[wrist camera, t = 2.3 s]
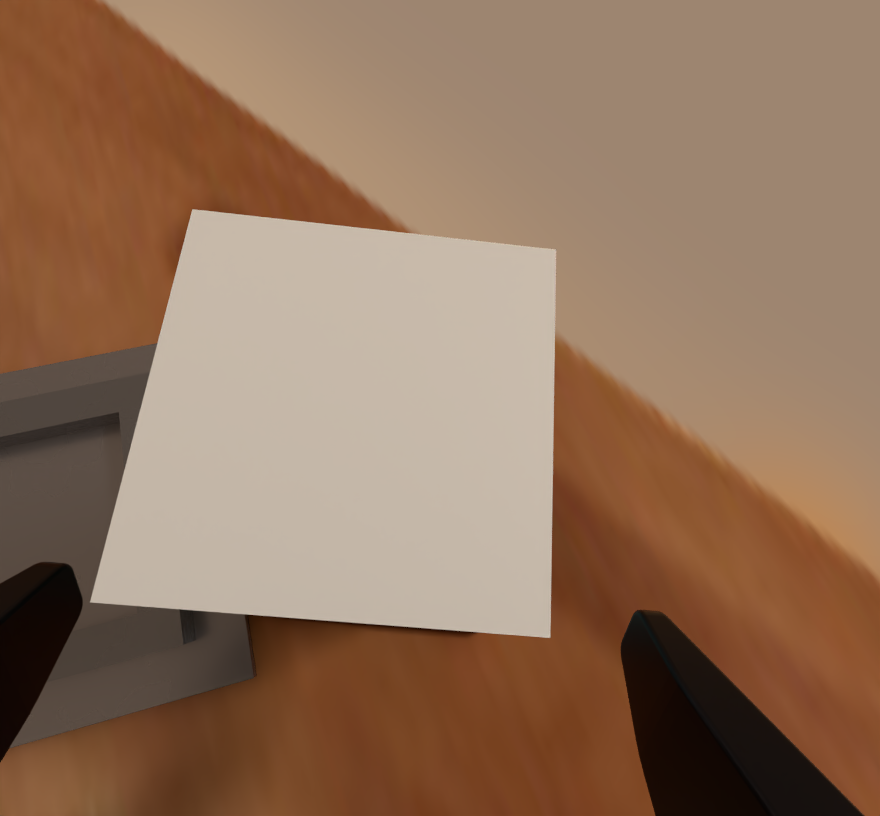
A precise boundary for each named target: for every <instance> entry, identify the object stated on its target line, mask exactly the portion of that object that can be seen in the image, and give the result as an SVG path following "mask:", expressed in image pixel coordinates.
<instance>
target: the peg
mask: <svg viewBox="0 0 880 816" xmlns="http://www.w3.org/2000/svg"><path fill="white" fill-rule="evenodd" d="M555 283H556V250H555V249H546V248H537V247H527V246H518V245H509V244H501V243H492V242H482V241H473V240H465V239H455V238H447V237H437V236H429V235H419V234H410V233H401V232H392V231H383V230H374V229H365V228H356V227H347V226H338V225H329V224H320V223H311V222H302V221H293V220H284V219H275V218H266V217H257V216H248V215H239V214H230V213H221V212H212V211H203V210H194V209H192V213H191V217H190V221H189V225H188V228H187V232H186V236H185V240H184V244H183V248H182V251H181V255H180V259H179V263H178V267H177V271H176V275H175V278H174V282H173V286H172V290H171V294H170V298H169V301H168V305H167V309H166V313H165V317H164V321H163V324H162V328H161V332H160V336H159V340H158V344H157V347H156V351H155V355H154V359H153V363H152V367H151V370H150V374H149V378H148V382H147V386H146V390H145V393H144V397H143V401H142V405H141V409H140V413H139V416H138V420H137V424H136V428H135V432H134V436H133V439H132V443H131V447H130V451H129V455H128V459H127V462H126V466H125V470H124V474H123V478H122V482H121V485H120V489H119V493H118V497H117V501H116V505H115V508H114V512H113V516H112V520H111V524H110V528H109V531H108V535H107V539H106V543H105V547H104V551H103V554H102V558H101V562H100V566H99V570H98V574H97V577H96V581H95V585H94V589H93V593H92V597H91V600H90V602H91V603H104V604H117V605H130V606H143V607H156V608H169V609H182V610H195V611H208V612H221V613H234V614H247V615H260V616H273V617H286V618H299V619H312V620H325V621H338V622H351V623H364V624H377V625H390V626H403V627H416V628H429V629H442V630H455V631H468V632H481V633H494V634H507V635H520V636H533V637H546V638H550V623H551V556H552V489H553V422H554V355H555V286H556V284H555Z"/></svg>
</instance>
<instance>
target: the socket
mask: <svg viewBox="0 0 880 816" xmlns="http://www.w3.org/2000/svg"><path fill="white" fill-rule="evenodd" d="M157 344H158V343H157ZM157 344H152V345H146V346H141V347H136V348H131V349H126V350H121V351H116V352H111V353H105V354H100V355H95V356H90V357H85V358H80V359H75V360H70V361H64V362H59V363H54V364H49V365H44V366H39V367H34V368H29V369H23V370H18V371H13V372H8V373H3V374H0V583H2V582H3V581H5V580H7V579H9V578H11V577H12V576H14V575H16V574H18V573H20V572H21V571H23V570H25V569H27V568H29V567H30V566H32V565H34V564H36V563H39V562H57V563H66V564H69V565H70V566H71V567H72V568H73V571H74V574H75V577H76V580H77V583H78V586H79V589H80V592H81V595H82V598H83V606H82V611H81V614H80V616H79V618H78V620H77V622H76V624H75V626H74V628H73V630H72V632H71V634H70V636H69V638H68V640H67V642H66V644H65V646H64V648H63V650H62V652H61V654H60V656H59V658H58V660H57V662H56V664H55V666H54V668H53V670H52V672H51V674H50V676H49V678H48V680H47V682H46V684H45V686H44V688H43V690H42V692H41V694H40V696H39V698H38V700H37V702H36V704H35V705H34V707H33V709H32V711H31V713H30V715H29V716H28V718H27V720H26V721H25V723H24V725H23V726H22V728H21V730H20V732H19V733H18V735H17V736H16V738H15V740H14V741H13V743H12V744H11V746H10V748H12V747H15V746H19V745H22V744H26V743H29V742H33V741H36V740H40V739H43V738H47V737H50V736H53V735H57V734H60V733H64V732H67V731H71V730H74V729H78V728H81V727H85V726H88V725H92V724H95V723H99V722H102V721H106V720H109V719H113V718H116V717H120V716H123V715H126V714H130V713H133V712H137V711H140V710H144V709H147V708H151V707H154V706H158V705H161V704H165V703H168V702H172V701H175V700H179V699H182V698H186V697H189V696H193V695H196V694H200V693H203V692H206V691H210V690H213V689H217V688H220V687H224V686H227V685H231V684H234V683H238V682H241V681H245V680H248V679H252V678H254V677H255V676H256V670H255V663H254V656H253V650H252V643H251V636H250V629H249V622H248V615H247V614H234V613H221V612H208V611H195V610H182V609H169V608H156V607H143V606H130V605H117V604H104V603H91V602H90V600H91V597H92V593H93V589H94V585H95V581H96V577H97V574H98V570H99V566H100V562H101V558H102V554H103V551H104V547H105V543H106V539H107V535H108V531H109V528H110V524H111V520H112V516H113V512H114V508H115V505H116V501H117V497H118V493H119V489H120V485H121V482H122V478H123V474H124V470H125V466H126V462H127V459H128V455H129V451H130V447H131V443H132V439H133V436H134V432H135V428H136V424H137V420H138V416H139V413H140V409H141V405H142V401H143V397H144V393H145V390H146V386H147V382H148V378H149V374H150V370H151V367H152V363H153V359H154V355H155V351H156V347H157Z"/></svg>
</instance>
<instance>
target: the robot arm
mask: <svg viewBox="0 0 880 816" xmlns="http://www.w3.org/2000/svg"><path fill="white" fill-rule="evenodd" d="M82 606H83V598H82V595H81V592H80V589H79V586H78V583H77V580H76V577H75V574H74V571H73V568H72V567H71V566H70V565H69V564H66V563H57V562H39V563H36V564H34V565H32V566H30V567H29V568H27V569H25V570H23V571H21V572H20V573H18V574H16V575H14V576H12V577H11V578H9V579H7V580H5V581H3V582H2V583H0V762H1V761H2V759H3V757H4V756H5V754H6V752H7V751H8V749H9V748H10V746H11V744H12V743H13V741H14V740H15V738H16V736H17V735H18V733H19V732H20V730H21V728H22V726H23V725H24V723H25V721H26V720H27V718H28V716H29V715H30V713H31V711H32V709H33V707H34V705H35V704H36V702H37V700H38V698H39V696H40V694H41V692H42V690H43V688H44V686H45V684H46V682H47V680H48V678H49V676H50V674H51V672H52V670H53V668H54V666H55V664H56V662H57V660H58V658H59V656H60V654H61V652H62V650H63V648H64V646H65V644H66V642H67V640H68V638H69V636H70V634H71V632H72V630H73V628H74V626H75V624H76V622H77V620H78V618H79V616H80V614H81V611H82ZM621 659H622V664H623V670H624V675H625V681H626V687H627V692H628V698H629V703H630V709H631V714H632V720H633V726H634V731H635V737H636V742H637V747H638V752H639V757H640V761H641V764H642V768H643V772H644V776H645V779H646V783H647V787H648V790H649V794H650V797H651V801H652V804H653V808H654V812H655V815H656V816H864V815H863V814H862V813H861V812H860V811H859V810H858V809H857V808H856V807H855V806H854V805H853V804H852V803H851V802H850V801H849V800H848V799H847V798H846V797H845V796H844V795H843V794H842V793H841V792H840V791H839V790H838V789H837V788H836V786H835V785H834V784H833V783H832V782H831V781H830V780H829V779H828V778H827V777H826V776H825V775H824V774H823V773H822V772H821V771H820V770H819V769H818V768H817V767H816V766H815V765H814V764H813V763H812V762H811V761H810V760H809V759H808V758H807V757H806V756H805V755H804V754H803V753H802V752H801V751H800V750H799V749H798V748H797V747H796V746H795V745H794V744H793V743H792V742H791V741H790V740H789V739H788V738H787V737H786V736H785V735H784V734H783V733H782V732H781V731H780V730H779V729H778V728H777V727H776V726H775V725H774V724H773V723H772V722H771V721H770V720H769V719H768V718H767V717H766V716H765V715H764V714H763V713H762V712H761V711H760V710H759V709H758V708H757V707H756V706H755V705H754V704H753V703H752V702H751V701H750V700H749V699H748V698H747V697H746V696H745V695H744V694H743V693H742V692H741V691H740V690H739V689H738V688H737V687H736V686H735V684H734V683H733V682H732V681H731V680H730V679H729V678H728V677H727V676H726V675H725V674H724V673H723V672H722V671H721V670H720V669H719V668H718V667H717V666H716V665H715V664H714V663H713V662H712V661H711V660H710V659H709V658H708V657H707V656H706V655H705V654H704V653H703V652H702V651H701V650H700V649H699V648H698V647H697V646H696V645H695V644H694V643H693V642H692V641H691V640H690V639H689V638H688V637H687V636H686V635H685V634H684V633H683V632H682V631H681V630H680V629H679V628H678V627H677V626H676V625H675V624H674V623H673V622H672V621H671V620H670V619H669V618H668V617H667V616H666V615H665V614H663V613H662V612H659V611H650V610H637V611H636V612H635V613H634V614H633V616H632V618H631V621H630V623H629V625H628V628H627V630H626V632H625V635H624V637H623V640H622V643H621Z"/></svg>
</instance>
